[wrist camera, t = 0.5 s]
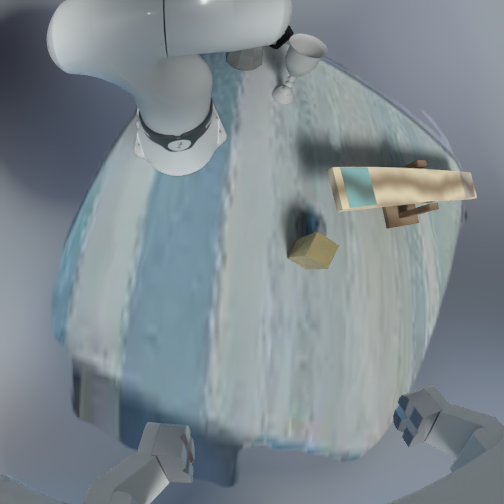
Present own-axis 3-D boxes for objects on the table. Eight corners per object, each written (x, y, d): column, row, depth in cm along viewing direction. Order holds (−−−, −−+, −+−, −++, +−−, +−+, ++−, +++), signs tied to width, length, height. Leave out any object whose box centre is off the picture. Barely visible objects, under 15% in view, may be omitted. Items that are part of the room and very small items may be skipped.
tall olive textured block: (287, 258, 54) (305, 255, 44) (297, 238, 55) (317, 231, 45) (306, 269, 55) (327, 268, 45) (316, 249, 55) (338, 245, 45)
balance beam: (327, 170, 43) (332, 166, 42) (466, 174, 57) (470, 172, 55) (337, 211, 43) (343, 209, 41) (472, 198, 57) (477, 197, 55)
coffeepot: (211, 61, 54) (216, 6, 37) (228, 40, 56) (237, -11, 38) (270, 83, 56) (292, 31, 39) (283, 61, 58) (305, 12, 40)
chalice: (266, 103, 56) (288, 51, 38) (268, 81, 56) (289, 29, 39) (297, 110, 57) (328, 62, 39) (298, 88, 58) (326, 40, 40)
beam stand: (372, 169, 59) (403, 151, 47) (402, 169, 61) (433, 153, 49) (386, 228, 59) (421, 219, 47) (415, 223, 60) (449, 215, 49)
